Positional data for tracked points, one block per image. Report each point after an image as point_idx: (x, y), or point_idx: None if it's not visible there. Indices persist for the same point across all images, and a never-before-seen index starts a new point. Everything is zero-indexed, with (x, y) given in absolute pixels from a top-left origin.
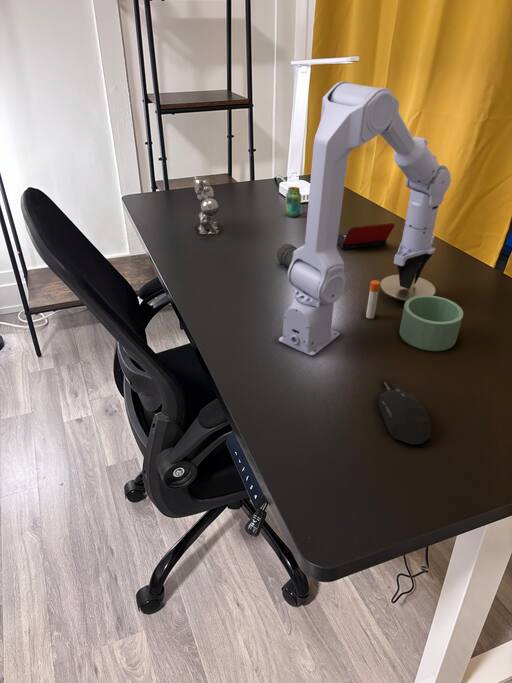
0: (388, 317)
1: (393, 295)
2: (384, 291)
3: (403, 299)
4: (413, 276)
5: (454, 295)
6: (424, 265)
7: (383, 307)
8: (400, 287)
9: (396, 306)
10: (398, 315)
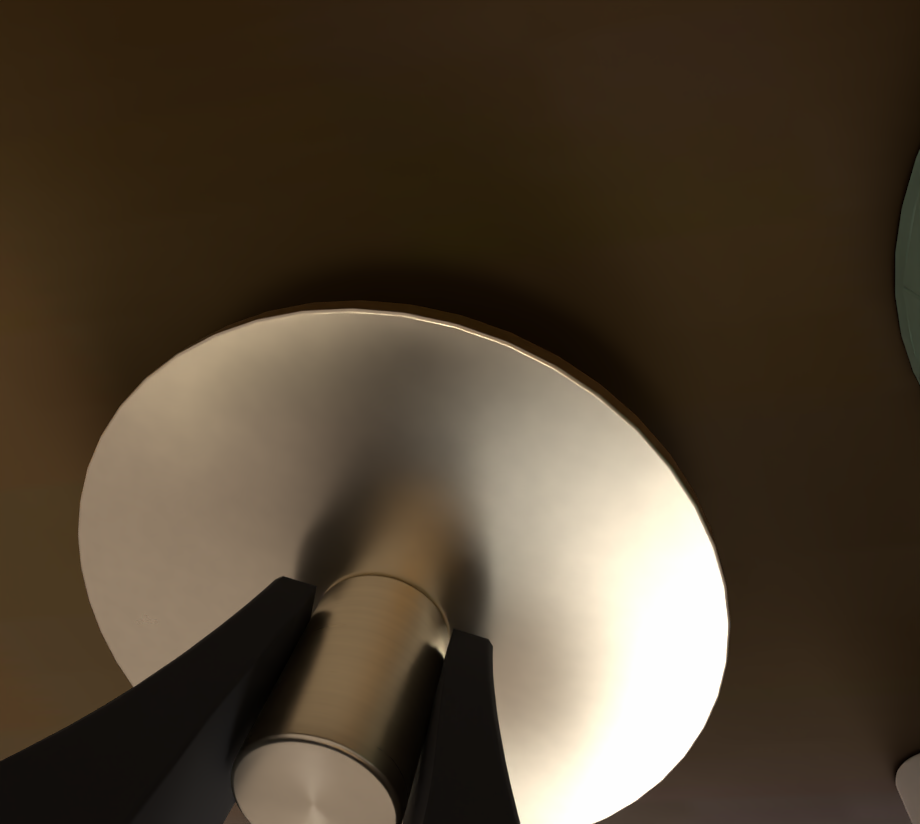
0: (903, 641)
1: (681, 745)
2: (610, 815)
3: (728, 643)
4: (487, 800)
5: (56, 36)
6: (74, 733)
7: None
8: None
9: None
10: (828, 563)
